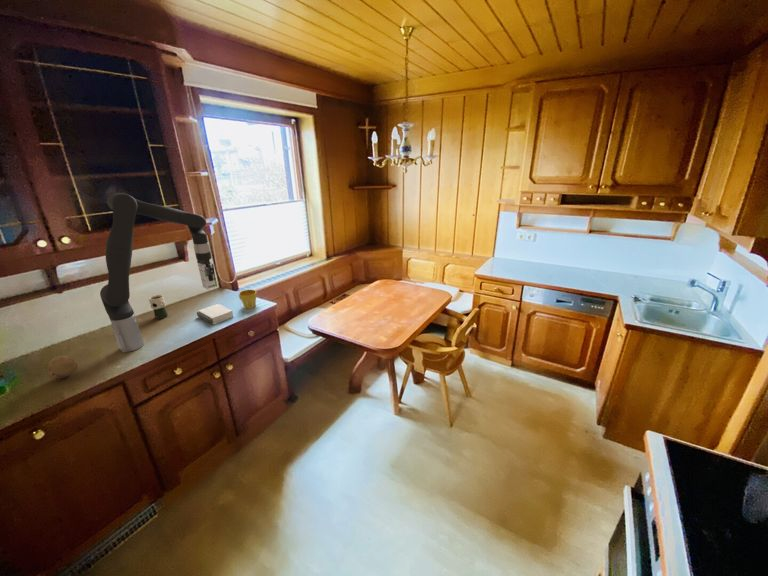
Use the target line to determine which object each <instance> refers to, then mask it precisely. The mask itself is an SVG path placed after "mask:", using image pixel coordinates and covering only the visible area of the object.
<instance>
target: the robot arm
mask: <svg viewBox="0 0 768 576" xmlns="http://www.w3.org/2000/svg"><path fill="white" fill-rule="evenodd" d="M106 202H107V207H109V209H110V210H111V211H112V226H111V229H110V231H109V234H108V236H107V240H106V244H105V263H106V268H107V271H108V272H107V275H108V281H107V284H106V285H104V286H103V287H101V289H100V291H99V292H100V293H99V296H100V298H101V301H102V302H101V303H102V304H103V307H104V310H105V311H106V314H107V316H108V319H109V320H110V322H111V326H112V328H113V331H114V332H113V334H114V338H115V341H116V343H117V345H118V348H119V350H120V351H121V352H122V353H124V354H125V353H127V352H132V351H133V352H134V351H137V350H139V349H141V348H142V347H143V346H144V345H145V342H144V339H143V336H142V333H141V331H140V328H139V325H138V321H137V318H136V315H135V312H134V309H133V307H132V306H131V303H130V302H129V299H130V272H131V265H132V257H133V244H134V225H135V221H136V216H137V215H141V216H145V217H150V218H153V219H157V220H160V221H165V222H167V223H173V224H177V225H183V226H187V228H188V230H189V232H190V234H191V238H192V242H193V250H194V254H195V259H196V263H197V264H198V263H203V264H205V265H206V268H208V270H207V269H206V268H205V270H206V271H207V274H208V278H209V281H213V280H214V279H213V275H212V274H215V275H216V273H214V272H215V265H214V263H213V264H210V262H211V260H212V259H213V257H212V252H211V247H210V246H211V245H210V244H209V240H208V235H207V233H206V232H205V231H204V227H205V226H206V225H207V220H206V218H205V217H204V216H203V215H201V214H197V213H192V212H186V211H183V210H181V209H177V208H174V207H169V206H165V205H160V204H154V203H149V202H146V201H142V200H139V199H137V198H134V197H133V196H132V195H130V194H127V193H122V192H115V193H111V194H110V195H108V197H107V199H106ZM208 271H209V272H208Z"/></svg>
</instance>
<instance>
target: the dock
mask: <svg viewBox="0 0 768 576" xmlns="http://www.w3.org/2000/svg"><path fill="white" fill-rule="evenodd" d="M196 316H197V317H199V318H200V319H201V320H204V321H205V322H206V323H209V324H210V325H217V324H218V323H221V322H224V321H226V320H229V319H231V318H234V312H233V310H231V309H229V308H227V307H226V306H224V305H221V303H216V304H213V305H211V306H208V307H205V308H202V309H201V308H200V309H198V311H197V312H196Z"/></svg>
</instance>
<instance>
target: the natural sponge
mask: <svg viewBox="0 0 768 576" xmlns="http://www.w3.org/2000/svg"><path fill="white" fill-rule="evenodd" d="M78 365H79V364H78V362H76V360H75V359H74V358H72V357H71V356H68V355H59V356H55V357H53V358H51V359H50V361H48V364H47V369H46V370H47V376H48V377H49V378H50V379H64V378H67V377H69V376H70V375H71V374H73V373H74V372H76V370H77V369H78V368H79V367H78Z"/></svg>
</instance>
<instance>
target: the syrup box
mask: <svg viewBox="0 0 768 576" xmlns="http://www.w3.org/2000/svg"><path fill="white" fill-rule="evenodd" d="M210 264H213V265H214V263H213V262H211V261H210ZM197 267H198V271H199V275H200V276H199V277H200V279H201V284H202V287H203V288H204V289H206V290H210V289H213V288H216V287H218V283H217V279H216V273H215V271H214V273H215V274H212V275H213V279H214V280H213V281H209V278H208V274H207V271H206V270H205V268H206V265H205V264H203V263H197ZM206 269H207V270H208V268H206ZM208 272H209V271H208Z"/></svg>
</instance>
